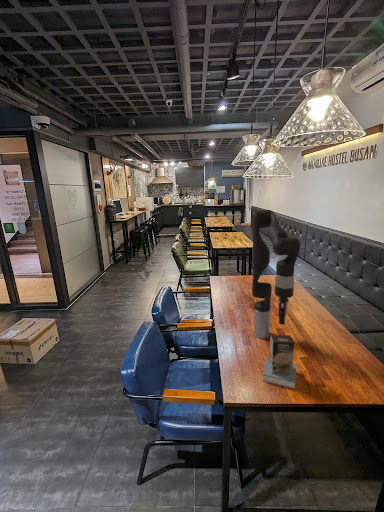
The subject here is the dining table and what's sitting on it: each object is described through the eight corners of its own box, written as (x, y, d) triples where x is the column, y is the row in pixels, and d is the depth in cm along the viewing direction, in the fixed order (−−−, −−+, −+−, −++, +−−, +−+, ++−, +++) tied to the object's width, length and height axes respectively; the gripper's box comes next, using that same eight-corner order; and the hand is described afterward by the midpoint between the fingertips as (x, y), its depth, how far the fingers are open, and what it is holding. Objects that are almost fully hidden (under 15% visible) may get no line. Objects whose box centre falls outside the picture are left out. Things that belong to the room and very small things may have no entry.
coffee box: (271, 373, 112) (272, 342, 108) (268, 364, 118) (269, 334, 114) (292, 374, 110) (294, 342, 107) (288, 365, 117) (290, 334, 113)
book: (265, 365, 123) (265, 358, 122) (295, 372, 118) (296, 364, 117) (261, 381, 113) (262, 373, 112) (295, 390, 107) (295, 382, 106)
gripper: (276, 278, 112) (275, 311, 116) (273, 289, 99) (271, 325, 103) (294, 280, 109) (292, 313, 113) (293, 291, 96) (290, 328, 100)
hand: (282, 319), depth 108 cm, fingers open, 8 cm apart
